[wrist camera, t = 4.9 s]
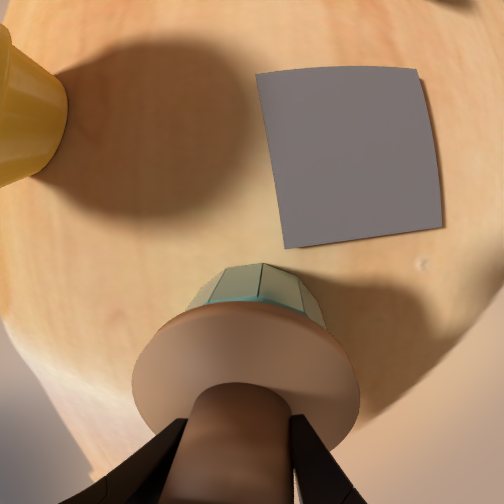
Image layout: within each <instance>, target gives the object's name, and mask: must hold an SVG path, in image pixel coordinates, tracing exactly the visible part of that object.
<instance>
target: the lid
mask: <svg viewBox="0 0 504 504" xmlns="http://www.w3.org/2000/svg"><path fill="white" fill-rule="evenodd" d="M132 392H133V397H134V401H135V404H136V406H137V409H138V411H139V413H140V415H141V416H142V418H143V420H144V421H145V423H146V424H147V425H148V427H149V428H150V429H151V430H152V431H153V432H154V433H155V434H156V435H157V434H158V433H160V432H161V431H162V430H163V429H164V428H165V427H167V426H168V425H169V424H170V423H171V422H172V421H174V420H175V419H176V418H188V422H187V425H186V428H185V430H184V433H183V436H182V438H181V441H180V444H179V447H178V449H177V452H176V455H175V458H174V460H173V463H172V466H171V469H170V471H169V474H168V477H167V480H166V482H165V485H164V488H163V491H162V493H161V496H160V499H159V502H158V504H294V466H293V459H292V453H291V446H290V416H291V415H297V414H304V415H305V416H306V418H307V419H308V421H309V422H310V424H311V425H312V427H313V428H314V430H315V431H316V433H317V434H318V436H319V437H320V439H321V440H322V442H323V443H324V445H325V446H326V448H327V449H328V450H329V452H330V451H331V450H332V449H334V448H335V447H336V446H337V445H338V444H339V443H340V442H342V441H343V439H344V438H345V437H346V436H347V435H348V433H349V432H350V430H351V429H352V427H353V425H354V424H355V421H356V419H357V416H358V413H359V408H360V390H359V386H358V382H357V379H356V376H355V373H354V370H353V368H352V365H351V363H350V360H349V358H348V356H347V353H346V352H345V350H344V349H343V347H342V346H341V344H340V343H339V342H338V341H337V340H336V339H335V338H334V337H333V336H332V334H331V333H329V332H328V331H327V330H326V329H324V328H323V327H322V326H321V325H319V324H318V323H316V322H314V321H313V320H311V319H309V318H308V317H306V316H304V315H301V314H299V313H297V312H294V311H292V310H289V309H286V308H283V307H279V306H276V305H271V304H266V303H260V302H250V301H225V302H217V303H211V304H206V305H203V306H199V307H196V308H192V309H190V310H188V311H186V312H183V313H181V314H179V315H177V316H176V317H174V318H173V319H171V320H170V321H168V322H167V323H166V324H165V325H164V326H163V327H161V328H160V329H159V330H158V331H157V333H156V334H155V335H154V337H153V338H152V339H151V341H150V342H149V343H148V345H147V346H146V347H145V349H144V350H143V351H142V353H141V354H140V355H139V357H138V359H137V361H136V363H135V366H134V370H133V374H132Z"/></svg>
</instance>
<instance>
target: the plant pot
mask: <svg viewBox="0 0 504 504" xmlns="http://www.w3.org/2000/svg"><path fill="white" fill-rule="evenodd" d="M67 112H68V102H67V95H66V92H65V89H64V87H63V85H62V83H61V82H60V81H59V80H58V79H57V78H56V77H54V76H53V75H52V74H50V73H49V72H48V71H46V70H45V69H44V68H42V67H41V66H40V65H39V64H37V63H36V62H35V61H33V60H32V59H31V58H29V57H28V56H27V55H25V54H24V53H23V52H21V51H20V50H19V49H17V48H16V47H15V46H13V45H12V40H11V35H10V33H9V30H8V29H7V28H6V27H5V26H4V25H2V24H0V188H1V187H4V186H6V185H8V184H11V183H13V182H15V181H18V180H20V179H23V178H26V177H28V176H31V175H34V174H36V173H38V172H39V171H40V170H42V169H43V168H44V167H45V166H46V165H47V164H48V163H49V161H50V160H51V158H52V157H53V155H54V154H55V152H56V150H57V148H58V146H59V144H60V142H61V139H62V136H63V133H64V129H65V125H66V120H67Z"/></svg>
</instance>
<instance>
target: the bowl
mask: <svg viewBox="0 0 504 504" xmlns="http://www.w3.org/2000/svg"><path fill="white" fill-rule="evenodd" d="M225 301H250V302H260V303H266V304H271V305H276V306H279V307H283V308H286V309H289V310H292V311H294V312H297V313H299V314H301V315H304V316H306V317H308V318H309V319H311V320H313V321H314V322H316V323H318V324H319V325H321V326H322V327H323V328H324V329H326V326H325V323H324V320H323V316H322V313H321V310H320V307H319V304H318V302H317V300H316V299H315V298H314V297H313V295H312V294H311V293H310V292H309V290H308V289H307V288H306V287H305V285H304V284H303V283H302V282H301V280H300V279H299V278H298V277H297V276H295V275H293V274H290V273H288V272H285V271H282V270H280V269H277V268H275V267H272V266H269V265H267V264H263V265H262V263H259V264H252V265H245V266H237V267H230V268H227V269H225V270H223V271H222V272H221V273H220V274H218V275H217V276H216V277H214V278H213V279H212V280H211V281H209V282H208V283H207V284H206V285H204V286H203V287H202V288H201V289H200V290H199V292H198V293H197V295H196V296H195V297H194V299H193V300H192V302H191V303H190V305H189V306H188V308H187V309H186V311H188V310H190V309H192V308H196V307H199V306H203V305H206V304H211V303H217V302H225ZM186 311H185V312H186ZM326 330H327V329H326Z"/></svg>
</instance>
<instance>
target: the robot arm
mask: <svg viewBox="0 0 504 504" xmlns="http://www.w3.org/2000/svg"><path fill="white" fill-rule="evenodd" d="M187 422H188V418H176V419H175V420H174V421H172V422H171V423H170V424H169V425H168V426H167V427H165V428H164V429H163V430H162V431H161V432H160V433H158V434H157V435H156V436H155V437H154V438H152V439H151V440H150V441H149V442H148V443H146V444H145V445H144V446H143V447H141V448H140V449H139V450H138V451H136V452H135V453H134V454H133V455H131V456H130V457H129V458H128V459H126V460H125V461H124V462H122V463H121V464H120V465H119V466H117V467H116V468H115V469H113V470H112V471H111V472H109V473H108V474H107V475H106V476H104V477H102V478H101V479H100V480H98V481H97V482H95V483H94V484H93V485H91V486H90V487H88V488H86V489H85V490H83V491H81V492H80V493H78V494H76V495H74V496H72V497H71V498H68V499H66V500H64V501H62V502H60V503H58V504H158V502H159V499H160V496H161V493H162V491H163V488H164V485H165V482H166V480H167V477H168V474H169V471H170V469H171V466H172V463H173V460H174V458H175V455H176V452H177V449H178V447H179V444H180V441H181V438H182V436H183V433H184V430H185V428H186V425H187ZM290 446H291V453H292V459H293V466H294V474H295V481H296V485H297V491H298V496H299V501H300V504H367V502H366V501H365V500H364V499H363V498H362V496H361V495H360V494H359V492H358V491H357V490H356V488H353V487H354V486H353V484H352V483H351V482H350V480H349V479H348V477H347V476H346V475H345V473H344V472H343V470H342V469H341V468H340V466H339V465H338V463H337V462H336V460H335V459H334V458H333V456H332V455H331V453H330V452H329V450H328V449H327V448H326V446H325V445H324V443H323V442H322V440H321V439H320V437H319V436H318V434H317V433H316V431H315V430H314V428H313V427H312V425H311V424H310V422H309V421H308V419H307V418H306V416H305V415H304V414H297V415H291V416H290Z"/></svg>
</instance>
